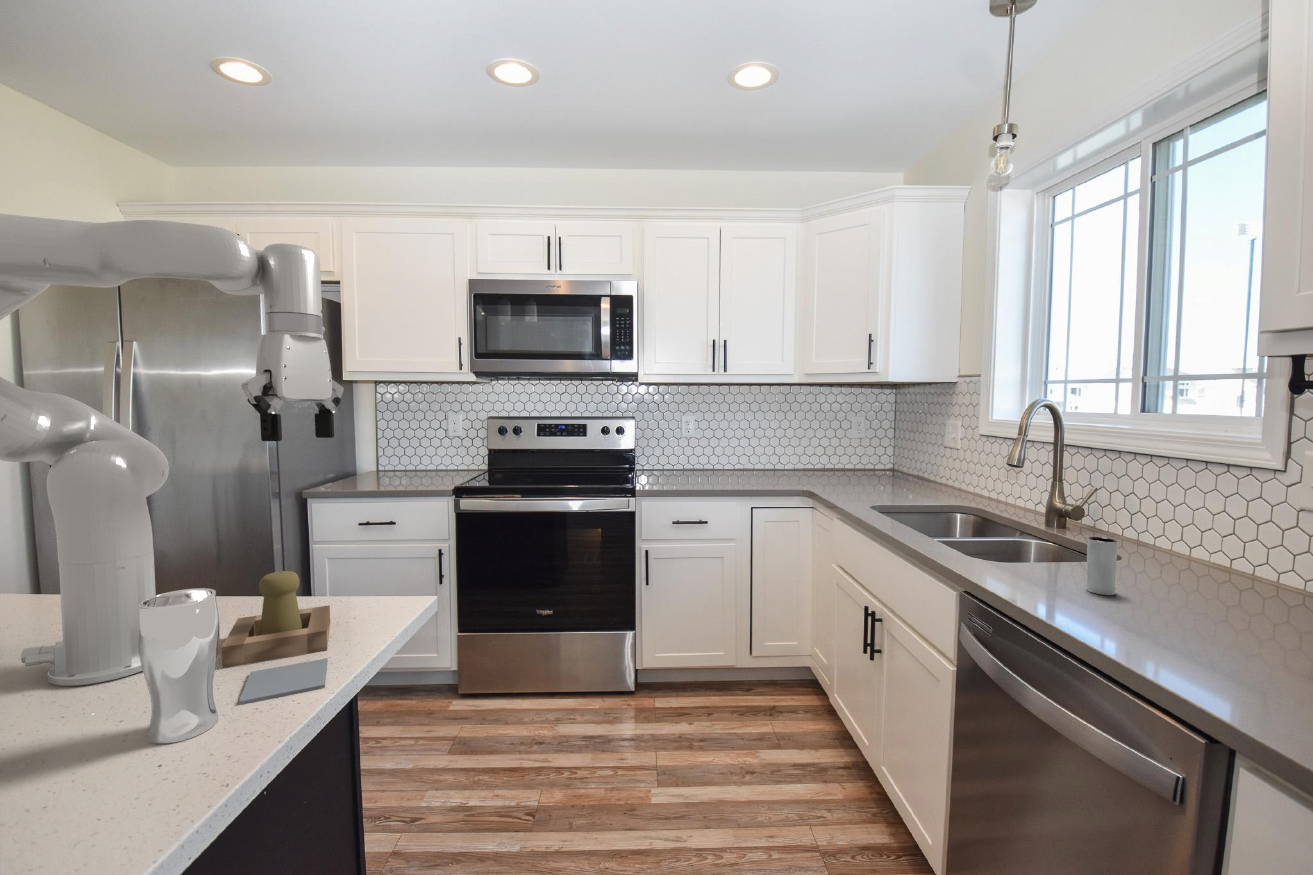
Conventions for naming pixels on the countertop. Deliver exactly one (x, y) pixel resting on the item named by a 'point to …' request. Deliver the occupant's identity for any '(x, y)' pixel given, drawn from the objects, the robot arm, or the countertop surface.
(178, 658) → the beer glass
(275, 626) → the olive rounded peg
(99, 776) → the countertop surface
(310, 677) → the rubber mat
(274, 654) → the wooden square frame
